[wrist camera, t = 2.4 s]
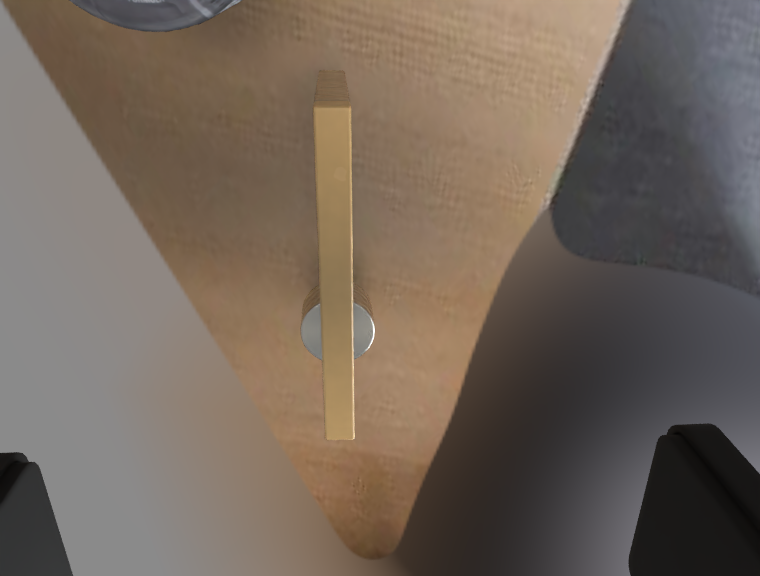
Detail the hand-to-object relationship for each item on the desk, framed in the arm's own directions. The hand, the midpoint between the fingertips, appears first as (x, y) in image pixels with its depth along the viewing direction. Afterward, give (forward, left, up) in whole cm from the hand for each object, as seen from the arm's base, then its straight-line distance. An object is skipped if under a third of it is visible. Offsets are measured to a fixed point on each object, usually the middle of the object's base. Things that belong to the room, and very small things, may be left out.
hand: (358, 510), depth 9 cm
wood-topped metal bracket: (0, -1, -18) cm, 18 cm away
